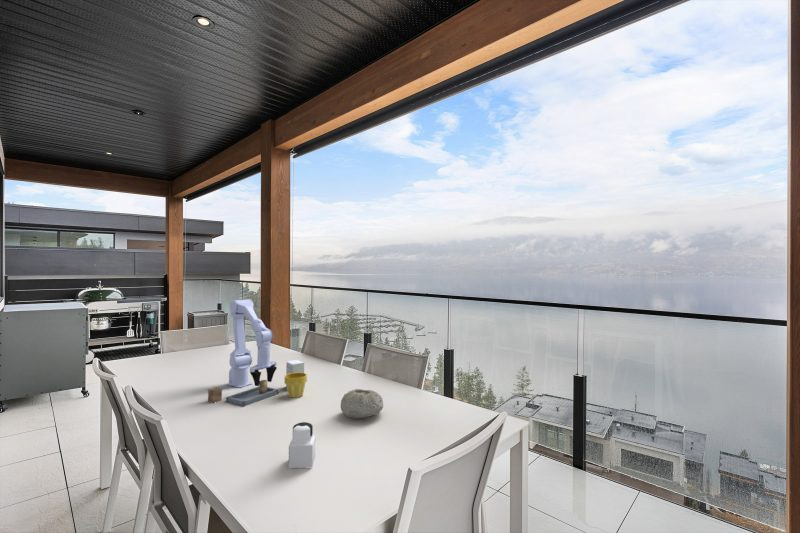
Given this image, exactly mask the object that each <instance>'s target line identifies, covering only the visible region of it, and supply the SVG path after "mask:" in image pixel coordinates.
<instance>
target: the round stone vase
mask: <svg viewBox="0 0 800 533" xmlns="http://www.w3.org/2000/svg"><path fill="white" fill-rule="evenodd" d="M383 408H384V399H383V397H382V396H381V394H379V393H378V392H376V391H374V390H372V389H360V388H355V389H352V390H350V391H348V392H346V393H344V395H343V396H342V398H341V401H340V410H341V412H342V414H343V415H345V416H347V417H350V418H354V419H362V418H363V419H365V418H367V417H371V416H375V415H377V414H379V413H380V412H381V411H383Z"/></svg>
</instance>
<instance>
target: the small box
mask: <svg viewBox="0 0 800 533" xmlns="http://www.w3.org/2000/svg"><path fill="white" fill-rule="evenodd" d="M285 371H286V373H285V375H287V374H290V373H298V372H300V373H305V362H304V361H301V360H299V359H294V360H293V359H292V360H286V370H285ZM285 387H286V388H287V386H286V385H285Z"/></svg>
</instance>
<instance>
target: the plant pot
mask: <svg viewBox="0 0 800 533" xmlns="http://www.w3.org/2000/svg"><path fill="white" fill-rule="evenodd" d="M307 380H308V375H307V373H306V372H304V373H300V372H298V373H290V374H287V375H286V374H285V375H284V384H285V387H286V386H287V387H286V391H287V395H288V397H289V398H294V399H296V398H301V397H303V396H304V391H305V387H306V382H308V381H307Z"/></svg>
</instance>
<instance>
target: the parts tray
mask: <svg viewBox="0 0 800 533" xmlns="http://www.w3.org/2000/svg"><path fill="white" fill-rule="evenodd" d="M279 393H280V389H279V388H274V387H269V386H267V393H264V394H260V393H259V386H256V387H252V388H249V389H246V390H243V391H240V392H238V393H235V394H231V395H229V396H226V397H225V402H227V403H230V404H233V403H234V405H237V404H238V405H237V406H241V405H242V406H241V407H247V406H249V405H252V404H255V403H257V402H260V401H262V400H265V399H267V398H271V397H274V396H276V395H279ZM254 402H255V403H254ZM246 405H247V406H246Z"/></svg>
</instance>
